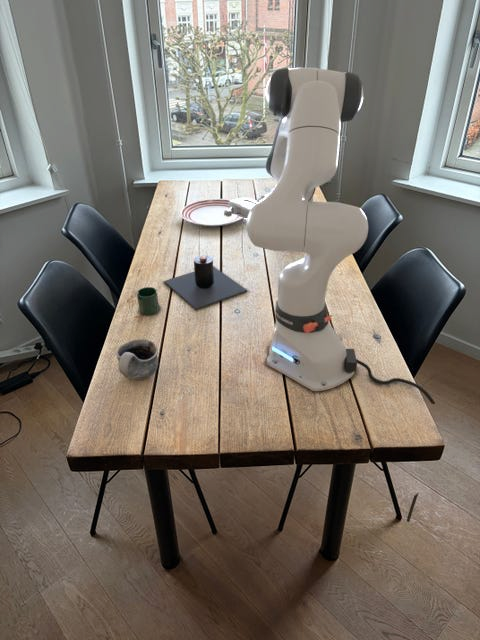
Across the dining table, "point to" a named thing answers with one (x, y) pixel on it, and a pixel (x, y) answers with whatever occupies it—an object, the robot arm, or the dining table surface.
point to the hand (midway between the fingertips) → (234, 218)
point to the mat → (208, 296)
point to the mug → (138, 359)
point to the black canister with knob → (204, 271)
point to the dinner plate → (208, 212)
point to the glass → (148, 301)
